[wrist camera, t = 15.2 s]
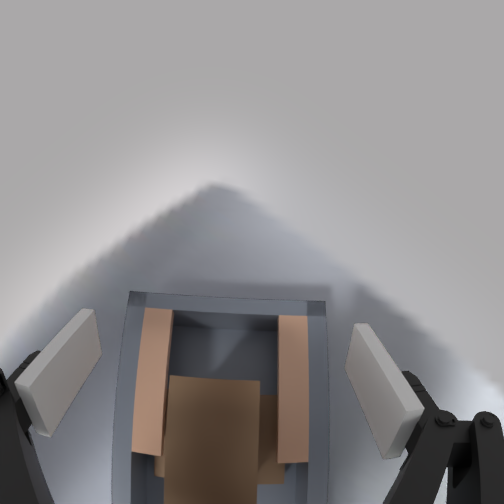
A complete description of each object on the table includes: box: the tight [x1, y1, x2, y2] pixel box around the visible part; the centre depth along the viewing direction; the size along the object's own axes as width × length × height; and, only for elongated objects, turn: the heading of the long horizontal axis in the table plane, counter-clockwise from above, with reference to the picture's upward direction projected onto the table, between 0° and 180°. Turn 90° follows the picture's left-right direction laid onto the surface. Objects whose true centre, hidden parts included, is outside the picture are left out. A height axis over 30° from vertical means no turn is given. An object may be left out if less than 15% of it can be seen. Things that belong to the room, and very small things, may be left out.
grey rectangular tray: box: [111, 291, 329, 504], centre depth 16 cm, size 12×24×4 cm, turn 179°
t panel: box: [154, 375, 285, 504], centre depth 15 cm, size 8×6×10 cm
